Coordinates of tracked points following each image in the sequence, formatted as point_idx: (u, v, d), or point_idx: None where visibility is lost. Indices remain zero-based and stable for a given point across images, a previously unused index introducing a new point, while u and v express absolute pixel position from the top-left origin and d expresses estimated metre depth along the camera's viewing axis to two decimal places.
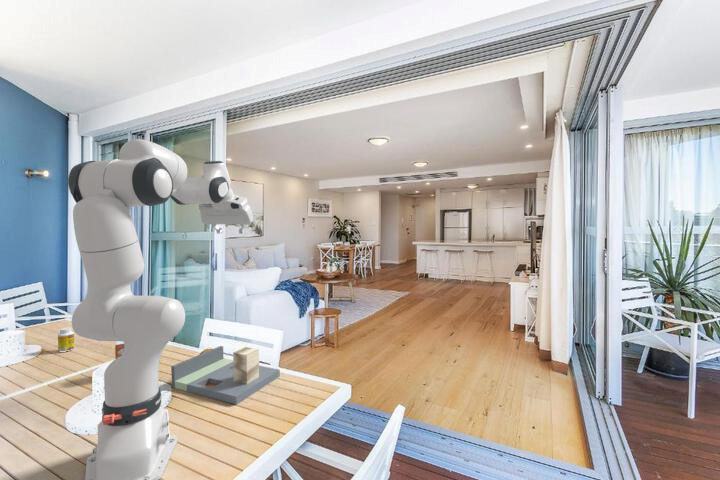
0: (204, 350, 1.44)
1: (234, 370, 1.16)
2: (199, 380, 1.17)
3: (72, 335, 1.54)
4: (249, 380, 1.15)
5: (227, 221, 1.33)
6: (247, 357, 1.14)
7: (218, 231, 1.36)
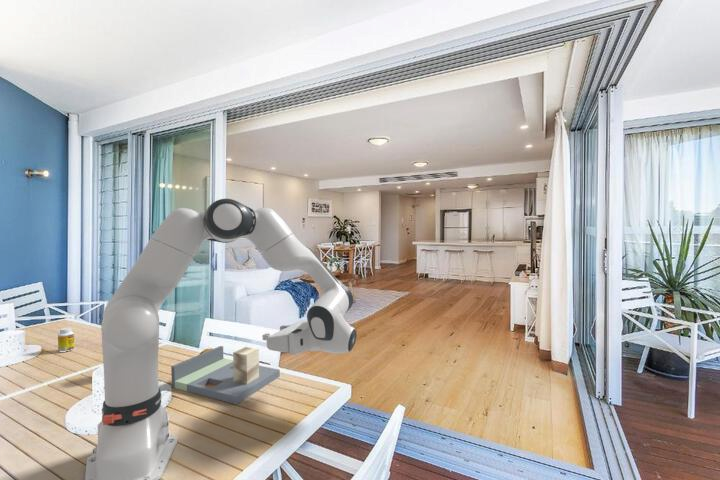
0: (204, 350, 1.44)
1: (234, 370, 1.16)
2: (199, 380, 1.17)
3: (72, 335, 1.54)
4: (249, 380, 1.15)
5: (286, 329, 1.10)
6: (247, 357, 1.14)
7: (283, 326, 1.17)
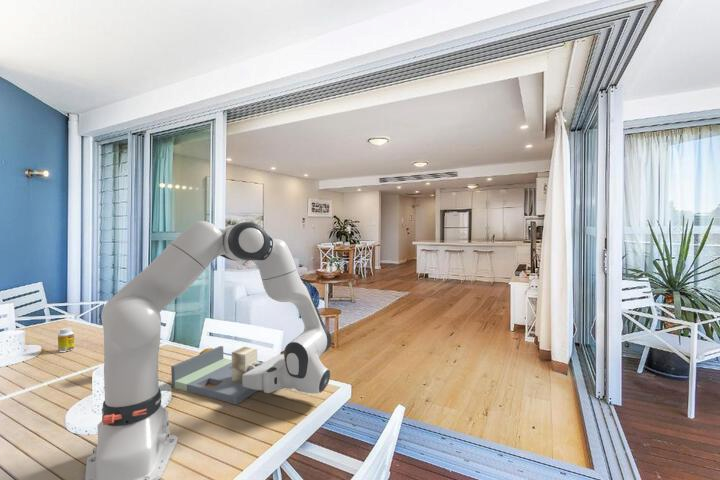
0: (204, 350, 1.44)
1: (233, 370, 1.16)
2: (199, 380, 1.17)
3: (72, 335, 1.54)
4: None
5: (264, 364, 1.14)
6: (246, 356, 1.14)
7: (255, 363, 1.17)
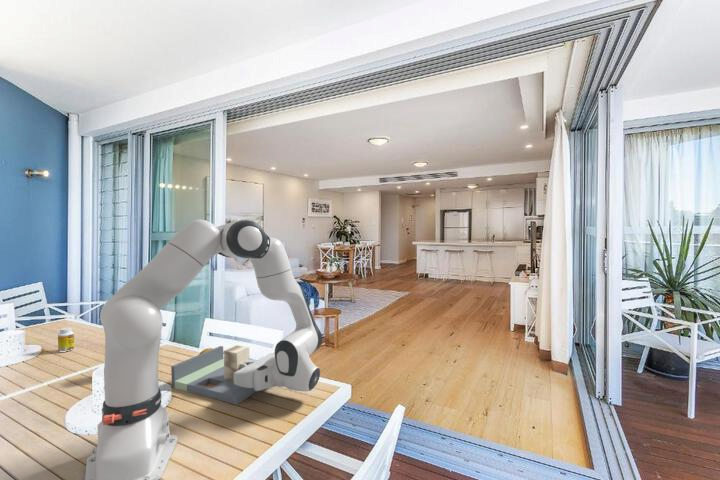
0: (204, 350, 1.44)
1: (225, 368, 1.18)
2: (199, 380, 1.17)
3: (72, 335, 1.54)
4: None
5: (255, 363, 1.15)
6: (237, 355, 1.16)
7: (246, 362, 1.18)
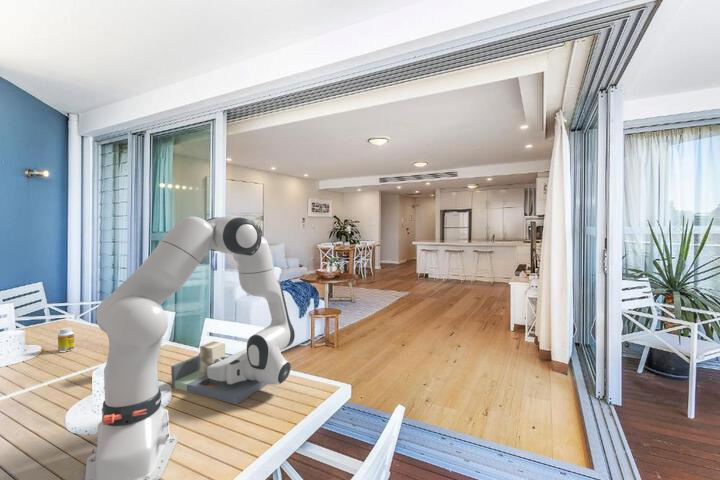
0: None
1: (201, 363, 1.23)
2: (199, 380, 1.17)
3: (72, 335, 1.54)
4: None
5: (230, 357, 1.20)
6: (213, 350, 1.21)
7: (222, 357, 1.23)
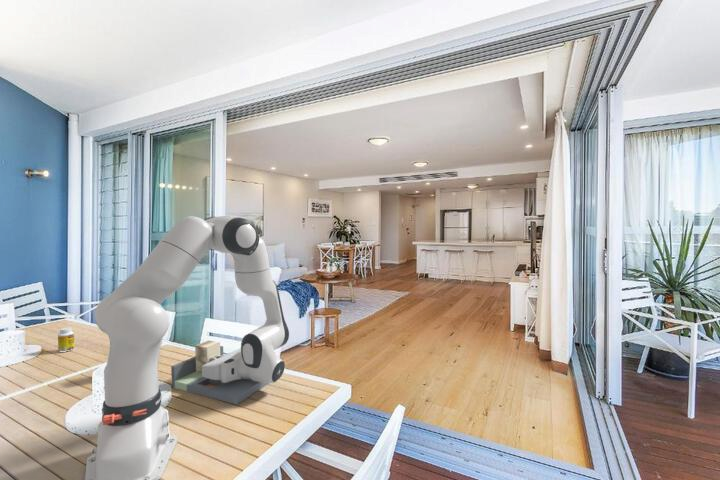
0: None
1: (196, 362, 1.24)
2: (199, 380, 1.17)
3: (72, 335, 1.54)
4: None
5: (224, 356, 1.21)
6: (208, 349, 1.22)
7: (217, 356, 1.24)
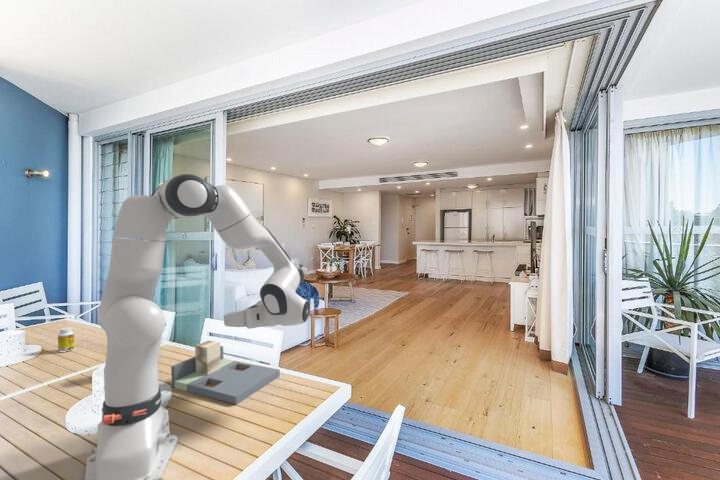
0: None
1: (196, 362, 1.24)
2: (199, 380, 1.17)
3: (72, 335, 1.54)
4: (210, 371, 1.23)
5: (244, 309, 1.15)
6: (208, 349, 1.22)
7: (234, 311, 1.18)
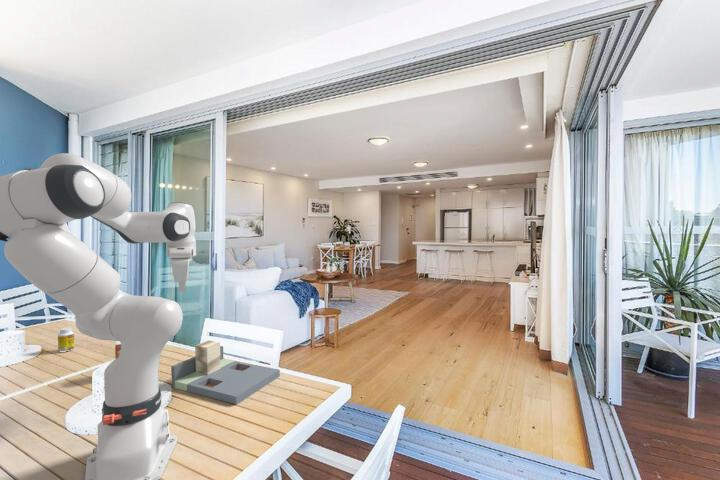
0: None
1: (196, 362, 1.24)
2: (199, 380, 1.17)
3: (72, 335, 1.54)
4: (210, 371, 1.23)
5: None
6: (208, 349, 1.22)
7: None
